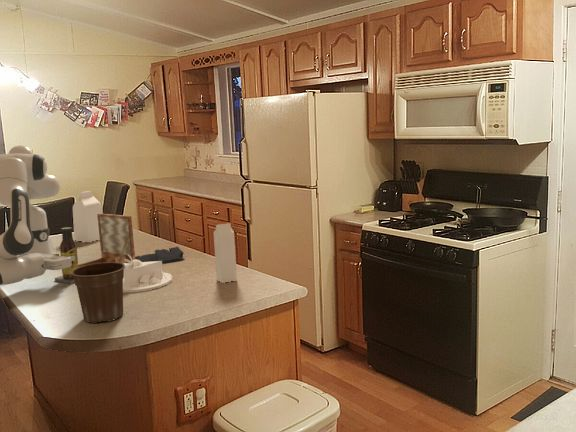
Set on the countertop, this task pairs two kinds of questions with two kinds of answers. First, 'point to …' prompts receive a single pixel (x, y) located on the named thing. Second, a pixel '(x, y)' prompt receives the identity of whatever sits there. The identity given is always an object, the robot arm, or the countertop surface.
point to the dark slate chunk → (163, 256)
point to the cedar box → (114, 238)
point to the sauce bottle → (68, 251)
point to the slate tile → (65, 280)
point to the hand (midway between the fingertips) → (66, 256)
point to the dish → (144, 276)
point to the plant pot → (100, 290)
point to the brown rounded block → (121, 260)
